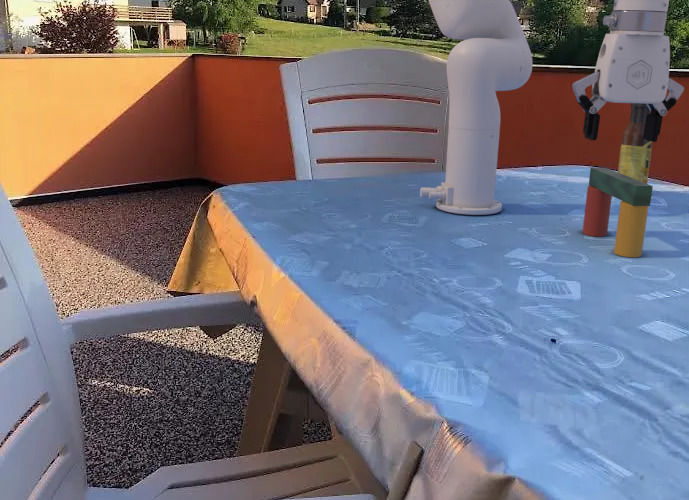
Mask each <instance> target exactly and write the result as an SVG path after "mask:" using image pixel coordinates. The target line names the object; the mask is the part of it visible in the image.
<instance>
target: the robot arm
mask: <svg viewBox="0 0 689 500" xmlns="http://www.w3.org/2000/svg"><path fill="white" fill-rule="evenodd" d="M427 2H428V3H429V6H430V9H431V12H432V14H433V17H434V19H435V22H436V24H437V26H438V27H437V28H439V30H440V32H441V33H442V35H443V36H445V37H446V38H449V39H454V40H462V41H460V42H458V43H457V44H456V45H454V46H453V48H452V49H451V51H450V52H449V54H448V57H447V59H446V60H447V61H446V80H447V87H448V99H449V100H448V101H449V104H448V105H449V107H448V108H449V110H448V129H447V130H448V131H447V147H446V150H447V151H446V161H445V178H444V179H445V180H444V181H443V182H440V183H441V184H440V185H437V186H436V187H420V189H419V196H420V198H429V199H430V200H435V199H436V200H435V207H436V208H437V209H438V210H440V211H443V212H447V213H451V214H457V215H464V216H465V215H466V216H486V215H493V214H497V213H500V212H501V211H502V209H503V204H502V202H501V201H499V200H496V199H495V196H496V194H495V193H496V182H497V170H498V169H497V168H498V158H499V146H500V145H499V144H500V135H501V134H500V131H501V108H500V103H499V100H498V97H497V92H503V91H504V92H505V91H513V90H516V89H520V88H521V87H523V86H524V85H525V84H526V83H527V82H528V81H529V79H530V77H531V75H532V72H533V56H532V52H531V49H530V48H531V47H530V45H529V43H528V40H527V38H526V36H525V33H524V31H523V28H522V25H521V23H520V20H519V18H518V15H517V12H516V11H515V8H514V6H513V4H512V2H511V1H510V0H428V1H427ZM669 4H670V0H614V1H613V7H612V8H613V9H612V11H611V13H610V14H609V15H604V16H603V18H602V24H603V25H604V26H608V27H609V28H608V30H609V33H605V35H604V38H603V41H602V44H601V46H600V50H599V53H598V57H597V61H596V63H595V69H594V72H593V73H591V74H589V75H586V76H585V77H582V78H581V79H578V80H576V81H574V82H573V83H572V85H571V88H572V90H573V94H574V96H575V100H576V102H577V104H578V105H579V106H580V108H582V111H583V112H584V113H585V114H584V120H583V126H582V127H583V128H582V132H583V135H584V138H585V139H587V140H589V141H597V139H598V135H599V128H600V121H601V114H599V111H600V110H601V109H602V108H603V107H604V106H605V105H606V103H607V102H609V103H616V104H617V103H619V104H631V103H645V104H647V106H648V108H649V109H650V114H648V115H647V116H646V123H645V129H644V135H643V138H644V139H645V140H648V141H651V142H652V143H657V142H658V138H659V136H660V134H661V129H662V123H663V117H665V116H666V115H667V114H668V112H669V111H670V110H671V109H673V107H674V106H675V105H676V104H677V102H678V100H679V99H680V97H681V96H682V94H683V93H684V91H685V87H684V86H683V85H682V84H680V83H679V82H677V81H676V80H674V79H672V78H671V77H669V76H670V65H671V64H670V63H671V44H670V43H671V42H670V36H669V35H664V34H665V27H666V23H667V16H668V11H669V10H668V9H669ZM590 86H592V87H591V95H592V97H590V98H589V97H588V96H587V94H586V88H588V87H590ZM668 91H669V92H668ZM667 93H668V94H667Z"/></svg>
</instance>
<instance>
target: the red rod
mask: <svg viewBox="0 0 689 500" xmlns="http://www.w3.org/2000/svg"><path fill="white" fill-rule="evenodd" d="M612 198H613V196H611V195H609V194H607V193H605V192H603V191H600V190H598V189H596V188H594V187H592V186H590V185H588V186H587V189H586V199H585V206H584V214H583V222H582V224H583V225H582V234H583V235H586V236H590V237H607V235H608V230H609V223H610V222H609V221H610V214H611V208H612V207H611V206H612Z"/></svg>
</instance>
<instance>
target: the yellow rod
mask: <svg viewBox="0 0 689 500" xmlns="http://www.w3.org/2000/svg"><path fill="white" fill-rule="evenodd" d="M649 207H650V206H633V205H630V204H628V203H626V202H624V201H622V200H620V202H619V209H618V210H619V212H618V216H617V217H618V218H617V226H616V232H615V240H614V248H613V254H615V255H618V256H619V257H620V256H621V257H626V258H639V257H642V255H643V248H644V241H645V234H646V229H647V228H646V227H647V221H648V220H647V219H648V215H649Z"/></svg>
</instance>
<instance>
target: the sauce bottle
mask: <svg viewBox="0 0 689 500" xmlns="http://www.w3.org/2000/svg"><path fill="white" fill-rule="evenodd" d="M650 113H651V111H650V109H649V108H648V106H647V104H645V103H630V118H629V123H628V124H627V125H626V127H625V128H624V130H623V131H622V138H621V144H620V149H619V157H618V167H617V172H618V173H620V174H623V175H626V176H628V177H631V178H633V179H636V180H638V181H641V182H644V183H646V184H648V180H649V175H650V167H651V166H650V165H651V158H652V149H653V142H651V141H648V140H645V139H644V138H643V135H644V129H645V123H646V116H647V115H648V114H650Z"/></svg>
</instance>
